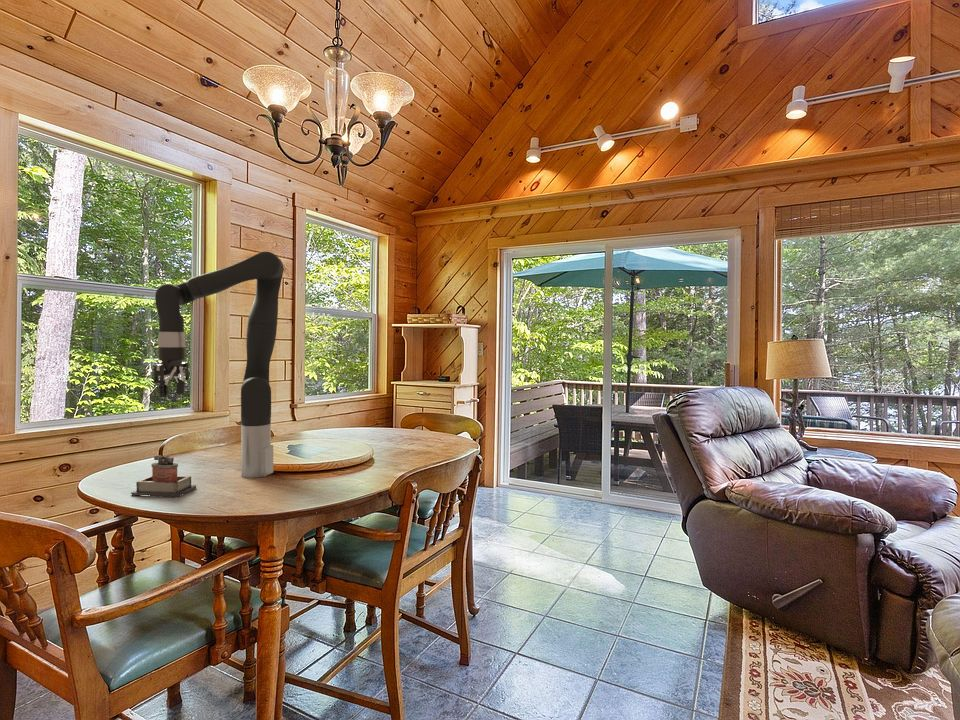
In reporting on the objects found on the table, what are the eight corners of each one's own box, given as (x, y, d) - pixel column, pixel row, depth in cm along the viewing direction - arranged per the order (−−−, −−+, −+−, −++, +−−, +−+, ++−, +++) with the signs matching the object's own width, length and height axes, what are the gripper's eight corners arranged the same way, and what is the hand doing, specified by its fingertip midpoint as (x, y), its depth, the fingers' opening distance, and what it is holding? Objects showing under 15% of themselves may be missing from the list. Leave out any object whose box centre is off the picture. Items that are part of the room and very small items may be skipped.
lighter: (181, 487, 155) (180, 455, 155) (172, 491, 152) (172, 457, 151) (157, 486, 156) (157, 453, 156) (148, 489, 153) (148, 456, 153)
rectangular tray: (152, 487, 159) (152, 474, 159) (196, 488, 158) (196, 475, 158) (131, 495, 150) (130, 482, 150) (177, 497, 149) (176, 483, 149)
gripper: (168, 346, 161) (169, 398, 162) (196, 345, 175) (196, 393, 176) (145, 346, 161) (146, 397, 162) (174, 345, 175) (175, 392, 176)
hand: (172, 395), depth 169 cm, fingers open, 8 cm apart
